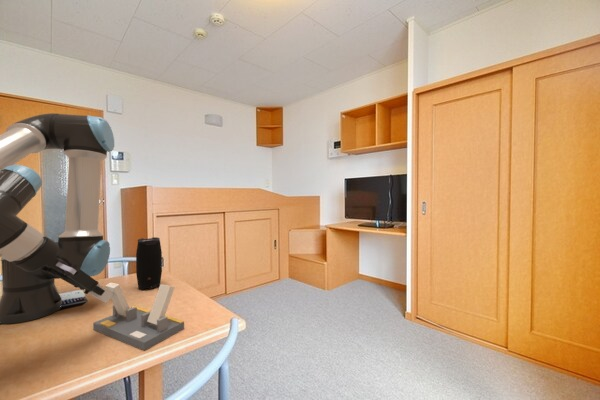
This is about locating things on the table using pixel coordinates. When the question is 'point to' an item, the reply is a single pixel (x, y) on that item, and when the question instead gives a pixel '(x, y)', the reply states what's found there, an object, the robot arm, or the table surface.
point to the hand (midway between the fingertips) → (108, 298)
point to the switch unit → (138, 327)
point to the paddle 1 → (118, 298)
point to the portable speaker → (148, 263)
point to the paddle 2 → (160, 304)
